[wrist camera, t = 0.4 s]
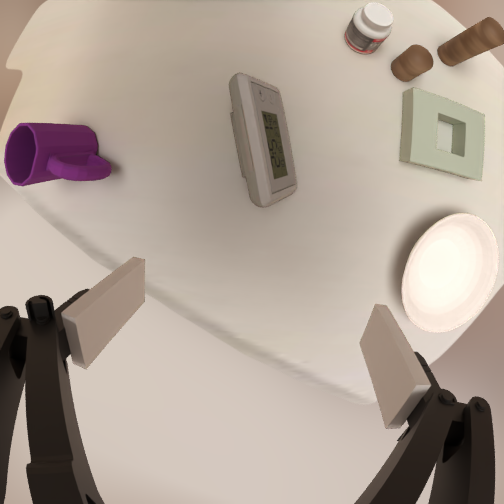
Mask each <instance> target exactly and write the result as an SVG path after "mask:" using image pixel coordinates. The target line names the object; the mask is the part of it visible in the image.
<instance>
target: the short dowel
mask: <svg viewBox="0 0 504 504" xmlns="http://www.w3.org/2000/svg"><path fill="white" fill-rule="evenodd" d="M432 67H433V58H432V56H431V54H430V53H429V51H428V50H427V49H426V48H424V47H422V46H420V45H412V46H410V47H409V48H408V49H407V50H406V51H404V52H403V53H402V54H401V55H400V56H398V57H397V58H396V59H395V60H394V61H393V62H392V64H391V70H392V72H393V74H394V76H395V77H396V78H398V79H399V80H401V81H405V82H407V81H410V80H412V79H414V78H415V77H417V76H419V75H421V74H423V73H424V72H426V71H428V70H430V69H431V68H432Z"/></svg>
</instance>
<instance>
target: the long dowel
mask: <svg viewBox="0 0 504 504" xmlns="http://www.w3.org/2000/svg"><path fill="white" fill-rule="evenodd" d="M502 44H504V30H503V28H502V27H501V26H500V24H499V23H498V22H497V21H495V20H494V19H493V18H490V17H487V18H485V19H484V20H482V21H481V22H479V23H477V24H475V25H474V26H472V27H470V28H468V29H467V30H465V31H463V32H462V33H460V34H459V35H457V36H455V37H454V38H452V39H450V40H449V41H447V42H446V43H444V44H443V45H441V46H439V47H438V50H437V52H438V56H439V58H440V59H441V61H442V62H443V63H444V64H446V65H448V66H454V65H456V64H458V63H461V62H463V61H465V60H467V59H469V58H472V57H474V56H476V55H479V54H481V53H483V52H486V51H488V50H490V49H493V48H495V47H497V46H500V45H502Z"/></svg>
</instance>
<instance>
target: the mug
mask: <svg viewBox="0 0 504 504" xmlns="http://www.w3.org/2000/svg"><path fill="white" fill-rule="evenodd" d="M97 148H98V144H97V140H96V137H95V133H94V132H93V131H92V130H91V129H90V128H88V127H87V126H84V125H70V124H52V123H20V124H18V125H17V127H16V128H15V129H14V130H13V131H12V132H11V134H10V136H9V139H8V141H7V144H6V148H5V158H4V163H5V168H6V173H7V176H8V177H9V179H10V180H11V182H12V183H13V184H14V185H19V186H26V185H30V184H35V183H40V182H45V181H50V180H55V179H61V178H63V179H66V180H73V181H94V180H100V179H104V178H106V177H108V176H109V175H110V174H111V170H112V169H111V165H110V163H109V162H107V161H106V160H105V159H103V158H101V157H99V156H97V155H96V152H97Z"/></svg>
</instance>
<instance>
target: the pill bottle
mask: <svg viewBox="0 0 504 504" xmlns="http://www.w3.org/2000/svg"><path fill="white" fill-rule="evenodd" d="M393 21H394V17H393V14H392V13H391V11H390V10H389V9H388V8H387V7H385V6H384V5H382V4H379V3H375V2H372V3H368V4H366V5H365V7H362V8H360V9H358V10H357V11H356V12H355V13H354V15H353V18H352V20H351V22H350V23H349V25H348V27H347V29H346V32H345V40H346V43H347V44H348V45H349V47H350V48H352V49H353V50H354V51H356V52H359V53H362V54H369V53H372V52H374V51H375V50H376V49H377V48H378V47H379V46H380V45H381V43H382V42H383V41H384V40H385V39H386V38H387V37H388V36H389V34H390V33H391V29H392V26H391V25H392V23H393Z"/></svg>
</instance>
